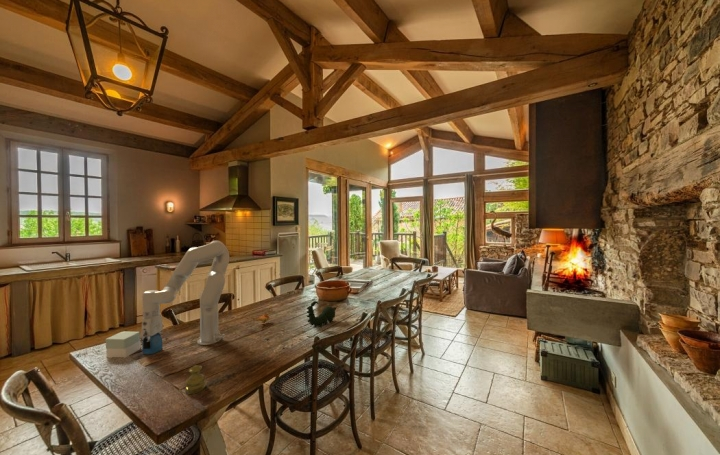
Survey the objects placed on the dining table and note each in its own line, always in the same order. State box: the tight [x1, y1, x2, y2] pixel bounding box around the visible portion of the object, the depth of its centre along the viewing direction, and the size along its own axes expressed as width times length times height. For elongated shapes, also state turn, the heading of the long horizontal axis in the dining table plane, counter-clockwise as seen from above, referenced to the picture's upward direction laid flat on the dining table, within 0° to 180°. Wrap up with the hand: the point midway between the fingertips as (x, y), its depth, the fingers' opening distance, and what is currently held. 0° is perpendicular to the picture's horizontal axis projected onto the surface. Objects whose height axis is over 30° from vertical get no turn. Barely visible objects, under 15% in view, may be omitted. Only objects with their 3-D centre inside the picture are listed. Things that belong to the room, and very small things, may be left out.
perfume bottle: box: [141, 334, 163, 355], centre depth 152 cm, size 6×6×12 cm
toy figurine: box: [306, 300, 337, 328], centre depth 193 cm, size 9×19×25 cm
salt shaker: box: [184, 364, 206, 395], centre depth 119 cm, size 7×7×10 cm
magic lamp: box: [251, 305, 273, 323], centre depth 193 cm, size 7×18×11 cm, turn 150°
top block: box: [105, 330, 141, 349], centre depth 150 cm, size 10×10×5 cm
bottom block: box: [105, 339, 142, 358], centre depth 150 cm, size 10×10×5 cm
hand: (152, 345), depth 152 cm, fingers closed on perfume bottle, 7 cm apart
